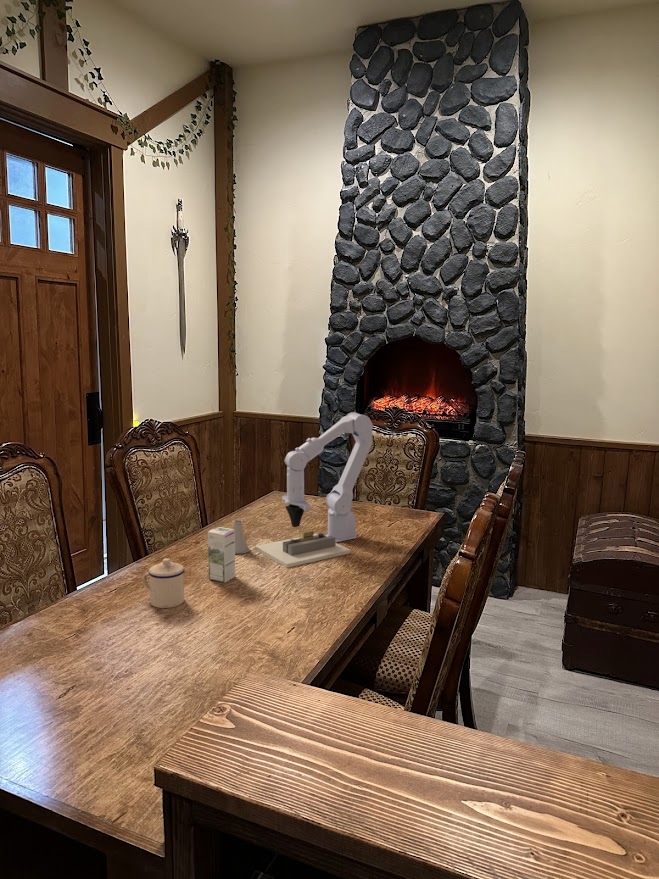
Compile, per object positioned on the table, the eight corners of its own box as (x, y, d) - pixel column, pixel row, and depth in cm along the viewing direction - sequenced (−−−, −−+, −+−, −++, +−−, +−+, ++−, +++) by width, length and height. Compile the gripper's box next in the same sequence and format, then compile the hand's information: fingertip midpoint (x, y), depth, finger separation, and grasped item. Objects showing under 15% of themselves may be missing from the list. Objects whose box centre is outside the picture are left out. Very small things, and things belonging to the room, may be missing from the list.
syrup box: (236, 576, 186) (235, 528, 184) (224, 583, 181) (223, 533, 179) (219, 573, 189) (219, 525, 186) (207, 580, 183) (206, 531, 181)
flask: (251, 547, 212) (251, 518, 210) (246, 555, 205) (246, 524, 203) (230, 546, 213) (229, 517, 211) (224, 554, 206) (224, 523, 204)
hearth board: (315, 537, 224) (315, 525, 223) (350, 553, 208) (350, 540, 207) (254, 549, 210) (254, 537, 209) (286, 567, 194) (286, 554, 193)
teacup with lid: (191, 598, 171) (191, 556, 169) (172, 611, 162) (171, 567, 161) (153, 591, 175) (152, 550, 173) (132, 604, 166) (131, 561, 165)
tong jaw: (322, 542, 214) (322, 532, 213) (325, 544, 212) (326, 534, 211) (282, 551, 205) (282, 540, 205) (286, 553, 203) (286, 542, 203)
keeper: (309, 542, 214) (309, 529, 214) (313, 544, 212) (313, 531, 212) (299, 544, 212) (299, 531, 211) (303, 546, 210) (303, 533, 209)
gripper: (274, 484, 218) (274, 523, 221) (297, 493, 207) (297, 533, 209) (291, 481, 222) (292, 519, 225) (315, 490, 211) (315, 530, 213)
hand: (295, 526), depth 217 cm, fingers closed
